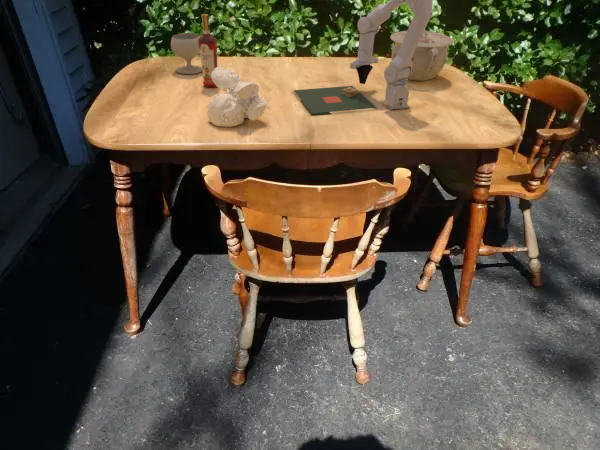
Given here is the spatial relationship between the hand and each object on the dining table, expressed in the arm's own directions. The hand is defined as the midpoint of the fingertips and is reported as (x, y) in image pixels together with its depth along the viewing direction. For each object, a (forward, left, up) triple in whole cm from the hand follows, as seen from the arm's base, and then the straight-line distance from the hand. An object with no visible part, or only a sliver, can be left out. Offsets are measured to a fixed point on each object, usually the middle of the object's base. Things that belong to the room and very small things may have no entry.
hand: (362, 83), depth 194 cm
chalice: (+45, +67, -4) cm, 80 cm away
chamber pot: (+15, -32, -4) cm, 36 cm away
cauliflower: (-17, +55, -4) cm, 57 cm away
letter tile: (-3, +6, -3) cm, 8 cm away
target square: (-7, +16, -4) cm, 18 cm away
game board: (-6, +15, -4) cm, 16 cm away
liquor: (+22, +60, -4) cm, 63 cm away
